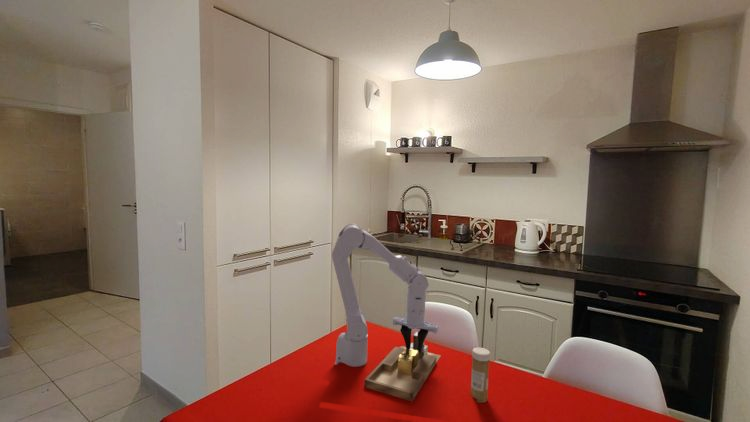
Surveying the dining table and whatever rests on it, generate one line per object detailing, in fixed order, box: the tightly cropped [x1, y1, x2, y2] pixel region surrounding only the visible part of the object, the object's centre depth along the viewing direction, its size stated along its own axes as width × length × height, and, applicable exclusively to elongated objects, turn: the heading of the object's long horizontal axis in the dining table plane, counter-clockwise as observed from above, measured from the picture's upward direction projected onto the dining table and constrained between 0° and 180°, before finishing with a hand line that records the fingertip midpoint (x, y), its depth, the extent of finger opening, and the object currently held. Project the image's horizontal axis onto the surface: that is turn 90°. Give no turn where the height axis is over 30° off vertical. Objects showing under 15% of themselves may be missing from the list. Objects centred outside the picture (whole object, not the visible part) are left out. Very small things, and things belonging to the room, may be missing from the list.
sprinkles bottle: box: [470, 347, 491, 404], centre depth 96 cm, size 5×5×14 cm
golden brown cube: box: [398, 354, 413, 375], centre depth 107 cm, size 4×4×4 cm
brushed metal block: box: [410, 331, 429, 359], centre depth 118 cm, size 6×5×6 cm
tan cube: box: [402, 348, 419, 369], centre depth 111 cm, size 4×4×4 cm
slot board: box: [364, 345, 442, 402], centre depth 108 cm, size 14×28×3 cm, turn 155°
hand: (414, 350), depth 114 cm, fingers open, 3 cm apart
